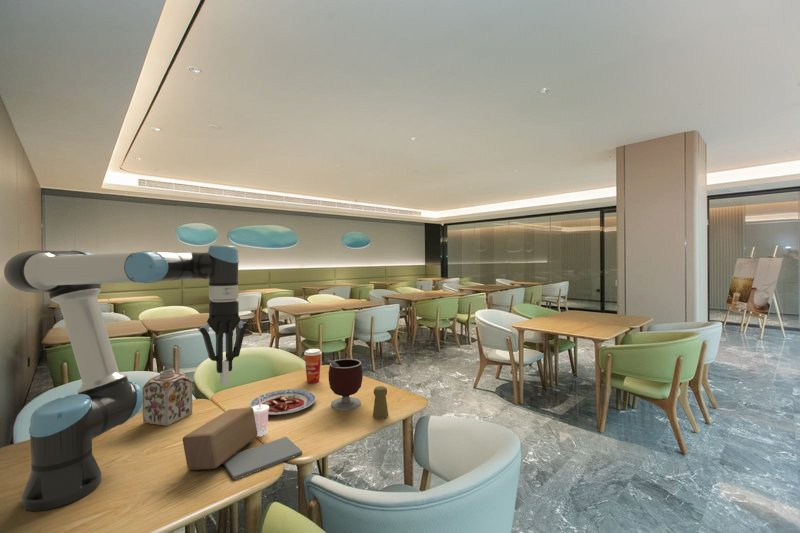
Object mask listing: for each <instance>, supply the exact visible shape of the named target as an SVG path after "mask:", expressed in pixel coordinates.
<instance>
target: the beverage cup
mask: <svg viewBox="0 0 800 533" xmlns="http://www.w3.org/2000/svg"><path fill="white" fill-rule="evenodd" d="M260 396H261V392H259V393H258V397H259V405H256V406H253V407H252V408H253V411H254V416H255V422H256V427H257V433H258V434H257V436H260V437H264V436H266V435H267V434H268V428H269V427H268V426H269V425H268V424H269V415H268V410H269V405H266V404H261V402H260ZM263 435H264V436H263Z"/></svg>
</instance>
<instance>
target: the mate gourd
mask: <svg viewBox="0 0 800 533" xmlns="http://www.w3.org/2000/svg"><path fill="white" fill-rule="evenodd" d="M326 362H327V363H329V367H328V385H329V388H330V390H331V391H332V392H333V393H334V394H335V395H337V396H341V397H339V398H335V399H334V400H331V402H330V407H331V408H332V409H333V410H336V411H352V410H355V409H358V408H359V407H360V406H361V404H362V401H361V399H359V398H357V397H352V395H355V394H357V393H358V392H359V390H360V389H361V387H362V383H363V376H364V375H363V373H364V372H363V371H364V370H363V365H362V361H361V360H359V359H355V358H354V359H353V358H342V359H335V360H329V359H327V360H326Z"/></svg>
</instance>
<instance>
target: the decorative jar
mask: <svg viewBox="0 0 800 533" xmlns="http://www.w3.org/2000/svg"><path fill="white" fill-rule="evenodd" d="M192 382H193V381H192V379H191V378H190V377H189V376H187V374H185V373H184V372H183V373H182V372H178V371H177V372H176V371H175V370H174V369H167V370H162V371H160V373H159V374H157V375H155V376H153V377H151V378H150V379H148V381H147V382H146V383H145V384H144V385H143V386H142V389H141V391H142V395H143V401H142V405H141V406H142V422H143V423H144V424H148V423H149V425H154V424H156V426H161V425H162V426H163V427H169V426H171V425H173V424H174V423H176V422H178V421H181V420H183V419H184V418H186V417H188V415H189V416H191V415H192V414H193V384H192ZM190 414H191V415H190Z"/></svg>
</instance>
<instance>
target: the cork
mask: <svg viewBox="0 0 800 533" xmlns="http://www.w3.org/2000/svg"><path fill="white" fill-rule="evenodd" d="M387 394H388V389H387V387H386V386H384V385H377V386H375V387H374V388H373V395H374V405H373V411H372V417H373V418H374V419H376V418H377V419H376V420H383V419H382V418H384V419H386V418H385V417H387V416H388V417H389V411H388V402H387ZM388 417H387V418H388Z"/></svg>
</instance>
